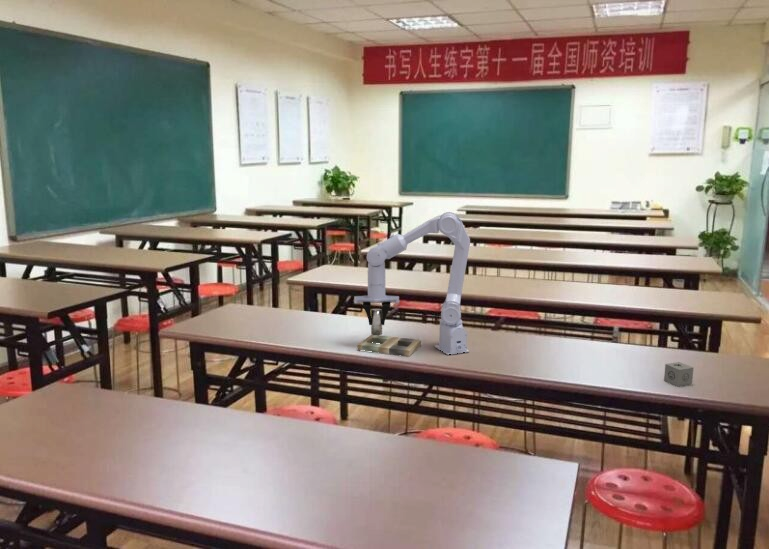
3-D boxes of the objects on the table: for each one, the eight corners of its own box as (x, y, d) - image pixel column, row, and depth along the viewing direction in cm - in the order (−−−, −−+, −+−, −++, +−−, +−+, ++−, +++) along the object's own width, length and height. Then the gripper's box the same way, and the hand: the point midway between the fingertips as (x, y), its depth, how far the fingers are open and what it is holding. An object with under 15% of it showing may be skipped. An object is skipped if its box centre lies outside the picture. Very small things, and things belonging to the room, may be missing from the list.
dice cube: (677, 378, 177) (679, 361, 176) (691, 384, 172) (693, 367, 171) (663, 381, 175) (665, 364, 174) (677, 387, 170) (679, 369, 169)
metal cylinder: (383, 334, 204) (383, 310, 202) (373, 335, 202) (373, 311, 201) (379, 331, 207) (379, 308, 205) (369, 332, 206) (369, 309, 204)
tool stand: (420, 345, 207) (420, 339, 206) (409, 356, 196) (409, 350, 195) (371, 340, 213) (371, 334, 212) (357, 350, 202) (357, 344, 201)
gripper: (353, 286, 197) (354, 327, 200) (399, 286, 198) (399, 327, 200) (354, 281, 204) (354, 321, 207) (398, 281, 204) (398, 321, 207)
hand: (376, 324), depth 204 cm, fingers closed on metal cylinder, 4 cm apart
